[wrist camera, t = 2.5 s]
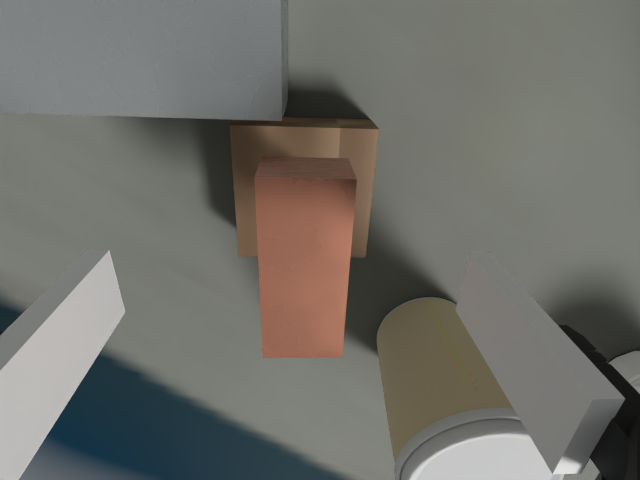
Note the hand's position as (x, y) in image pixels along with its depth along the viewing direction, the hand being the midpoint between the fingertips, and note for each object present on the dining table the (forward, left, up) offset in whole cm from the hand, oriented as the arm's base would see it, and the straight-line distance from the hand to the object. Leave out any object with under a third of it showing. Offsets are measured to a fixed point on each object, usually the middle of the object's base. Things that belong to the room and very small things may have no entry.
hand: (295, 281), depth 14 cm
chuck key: (0, 0, -12) cm, 12 cm away
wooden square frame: (0, 0, -12) cm, 12 cm away
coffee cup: (-10, +13, -12) cm, 20 cm away
